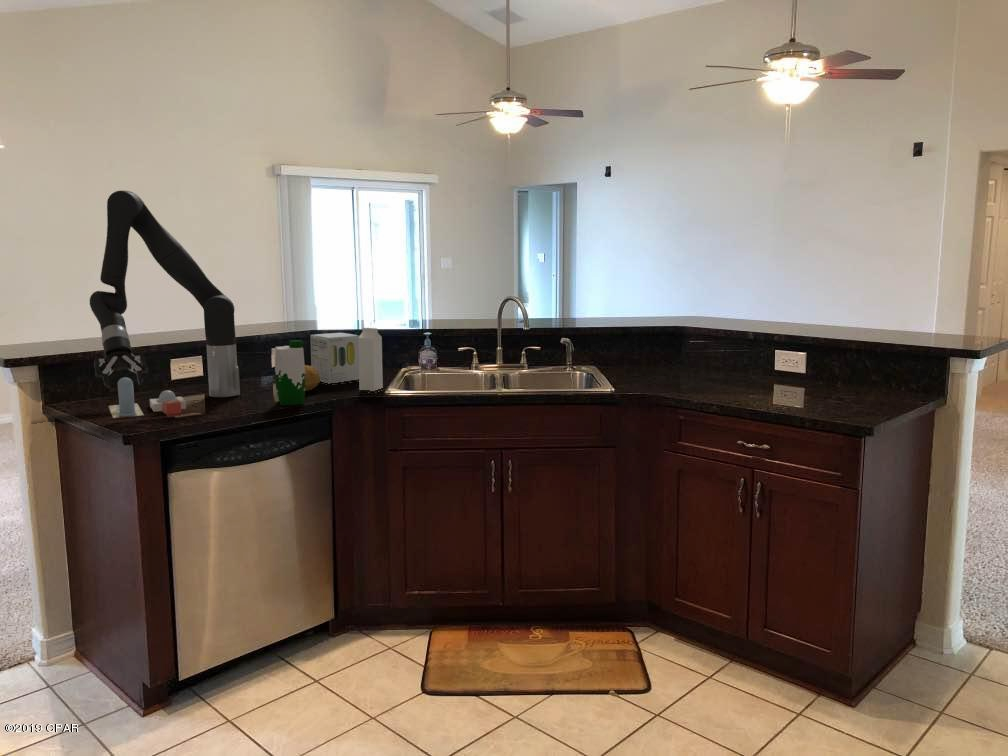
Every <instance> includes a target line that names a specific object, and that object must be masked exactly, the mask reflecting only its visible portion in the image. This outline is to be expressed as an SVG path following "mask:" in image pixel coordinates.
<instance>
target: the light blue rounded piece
mask: <svg viewBox="0 0 1008 756" xmlns="http://www.w3.org/2000/svg"><path fill="white" fill-rule="evenodd" d="M176 397H177V396H176V394H175V392H174V391H171V390H169V389H168V390H167V389H166V390H163V391H162V392H160V394H159V397H158V398H157V399H159V403H162V402H163V401H172V400H177V399H176Z"/></svg>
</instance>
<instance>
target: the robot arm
mask: <svg viewBox="0 0 1008 756" xmlns="http://www.w3.org/2000/svg"><path fill="white" fill-rule="evenodd" d="M106 200H107V201H106V216H107V217H106V219H107V220H106V221H107V223H106V224H107V225H106V226H107V228H106V240H105V241H106V242H105V246H104V254H103V260H102V264H101V265H102V266H101V272H100V282H101V283H102V284H104V285H107V286H110V287H112V288H114V292H113V291H103V290H97V291H94V292H92V294H91V295H90V297H89V307H90V310H91V312H92V314H94V317H95V318H96V320H97V321H98V323H99V326H100V331H101V341H102V343H101V344H102V347H103V353H104V358H99V357H97V356H96V357H94V363H93V364H94V374H95V375H94V376H95V378H101V379H102V380H103V386H104V387H106V388H107V389H110V388H111V387H110V386H111V384H110V379H109V376H110V375H111V374H112V373H113V372H114V371H115V372H119V371H127V370H129V371H130V372H132V373H134V374H136V379H137V383H138V386H140V385H142V384H143V383H144V375H143V374H147V373H148V363H147V360H146V357H145V354H144V353H140V354H139V355H134V354H133V351H132V346H131V345H132V344H131V341H130V336H129V333H128V330H127V326H126V321H125V318H124V317H123V314H125V312H126V310H127V308H128V299H127V294H126V277H127V271H128V265H129V237H130V232H131V228H132V229H133V230H134V231H135V232H136V233H137V234H138V235H139V237H140V238H141V239H142V241H143V242H144V244H145V245H146V248H147V249H148V251H149V253H150V254H151V256H152V257H153V258H154V260H155V261H156V263H157V264H158V265H159V266H160V267H161V268H162V269H163V271H165V272H166V274H167V275H169V277H170V278H171V279H173V280H174V281H175V282H176V283H178V284H179V285H180V286H181V287H182V288H184V289H185V290H186V291H188V292H189V293H190V294H191V295H192V296H193V298H194V299H195V300H196V301H197V302H198V304H199V305H200V306H201V308H202V309H203V321H204V323H203V324H204V336H205V342H206V356H207V362H206V363H207V375H208V376H207V377H208V393H209V395H208V396H209V397H212V398H229V397H235V396H240V395H241V389H240V388H241V387H240V369H239V366H238V360H237V359H238V358H237V357H238V356H237V340H236V338H237V337H236V328H235V326H236V325H235V323H236V322H235V305H234V303H233V301H232V300H231V299H230V298H229V297H228V296H226V295H225V294H224V292H222V291H221V290H220V289H218V287H217V286H216V285H215V284H213V283H212V282H211V280H210V279H209V278H208V277H207V276H206V274H205V273H204V271H203V269H202V267H200V266H199V264H198V263H197V262H196V261H195V260H194V258H193V257H192V256H191V255H190V253H189V252H188V251H187V250H186V249H185V247H183V245H182V244H181V243H180V242H178V240H177V239H176V238H175V237H174V236H173V235H172V234H171V233H170V231H168V230H167V229H166V228H165V227H164V226H163V225H162V224H160V222H159V221H158V220H157V218H156V217H155V216H154V214H153V213H152V212H151V211H150V209H149V208H148V206H147V205H146V204H145V202H144V201H143V200H142V198H141V197H140V196H139V195H138V194H136V193H135V192H133V191H131V190H117V191H114V192H112V193H111V194H110V195H109V196H108V198H107V199H106ZM135 361H136V362H137V363H138V364H140V366H141V367H140V366H139V365H137V363H136V362H135ZM103 364H105V365H106V366H105V368H104V369H103V370H101V367H102V366H103Z"/></svg>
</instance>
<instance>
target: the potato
mask: <svg viewBox="0 0 1008 756" xmlns="http://www.w3.org/2000/svg"><path fill="white" fill-rule="evenodd" d="M319 383H320V376H319V373H318V371H317V370H316V369H315V368H314V367H312V366H311V365H308V364H305V391H307V392H309V390H310V391H311V390H312V389H314V388H316V387H318V385H319Z"/></svg>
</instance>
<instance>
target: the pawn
mask: <svg viewBox="0 0 1008 756" xmlns="http://www.w3.org/2000/svg"><path fill="white" fill-rule="evenodd" d="M117 392H118V393H117V395H118V405H119V409H120V412H119V416H122V417H121V418H128V417H127V416H131V417H135V416H134V415H136V411H135V393H134V381H133V380H132V379H131V378H130V377H126V376H124V377H120V379H119V380H118V381H117Z"/></svg>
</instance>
